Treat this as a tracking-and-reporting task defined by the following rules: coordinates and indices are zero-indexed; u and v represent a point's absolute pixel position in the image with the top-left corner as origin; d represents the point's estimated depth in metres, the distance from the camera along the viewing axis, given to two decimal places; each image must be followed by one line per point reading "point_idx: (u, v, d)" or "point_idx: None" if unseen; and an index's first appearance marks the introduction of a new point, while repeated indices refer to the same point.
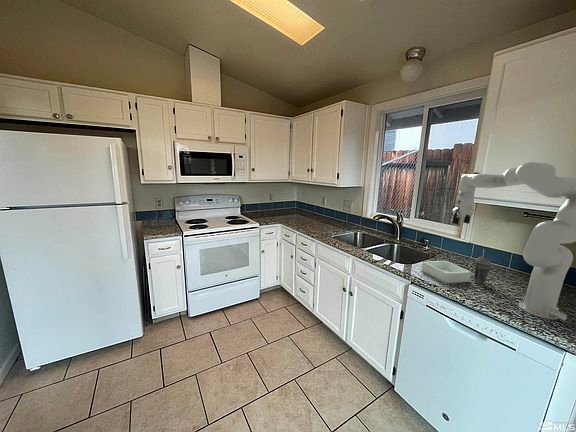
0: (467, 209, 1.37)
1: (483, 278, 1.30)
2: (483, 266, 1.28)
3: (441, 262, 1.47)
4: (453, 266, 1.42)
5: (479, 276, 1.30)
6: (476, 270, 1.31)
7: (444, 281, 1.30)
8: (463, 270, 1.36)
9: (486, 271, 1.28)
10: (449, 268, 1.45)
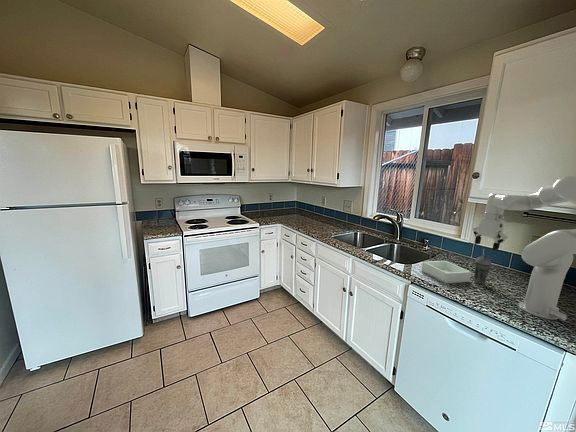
0: None
1: (483, 278, 1.30)
2: (483, 266, 1.28)
3: (441, 262, 1.47)
4: (453, 266, 1.42)
5: (479, 276, 1.30)
6: (476, 270, 1.31)
7: (444, 281, 1.30)
8: (463, 270, 1.36)
9: (486, 271, 1.28)
10: (449, 268, 1.45)
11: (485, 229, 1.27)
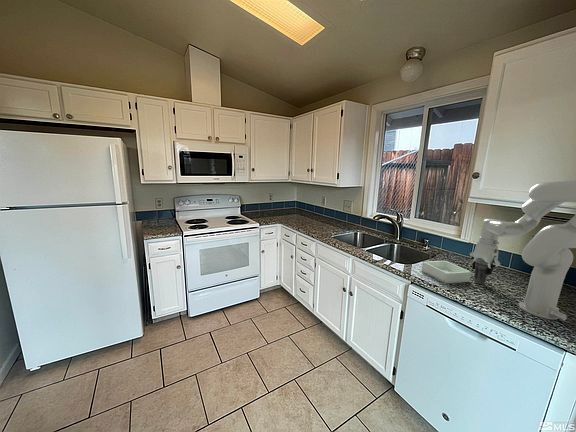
0: None
1: (483, 278, 1.30)
2: (483, 266, 1.28)
3: (441, 262, 1.47)
4: (453, 266, 1.42)
5: (479, 276, 1.30)
6: (476, 270, 1.31)
7: (444, 281, 1.30)
8: (463, 270, 1.36)
9: None
10: (449, 268, 1.45)
11: (481, 254, 1.30)
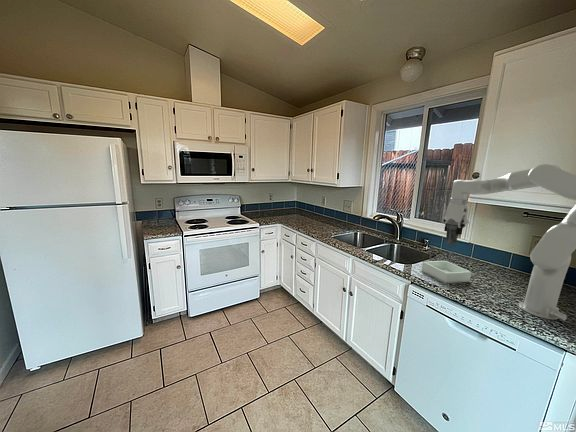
0: None
1: (454, 238, 1.32)
2: (453, 226, 1.31)
3: (441, 262, 1.47)
4: (453, 266, 1.42)
5: (450, 237, 1.33)
6: (447, 231, 1.34)
7: (444, 281, 1.30)
8: (463, 270, 1.36)
9: None
10: (449, 268, 1.45)
11: (451, 215, 1.32)
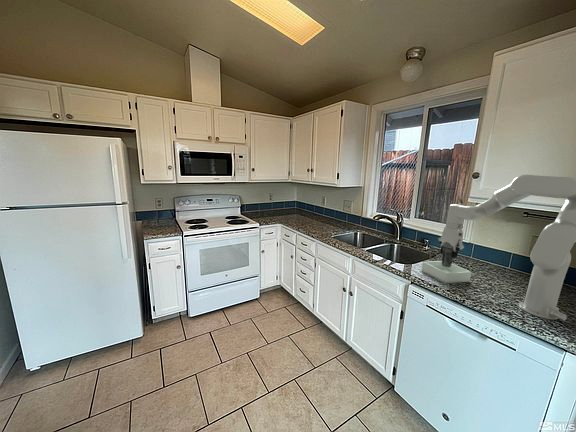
0: None
1: (449, 261, 1.35)
2: (449, 249, 1.33)
3: (441, 262, 1.47)
4: (453, 266, 1.42)
5: (446, 259, 1.36)
6: (443, 254, 1.37)
7: (444, 281, 1.30)
8: (463, 270, 1.36)
9: None
10: (449, 268, 1.45)
11: (447, 238, 1.35)
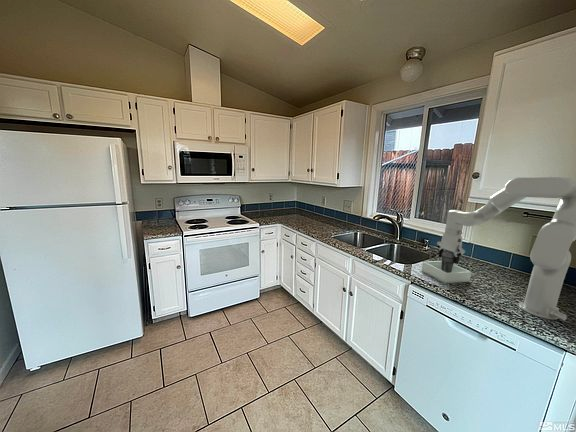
0: None
1: (449, 270, 1.36)
2: (448, 259, 1.34)
3: (441, 262, 1.47)
4: (453, 266, 1.42)
5: (445, 268, 1.37)
6: (442, 263, 1.38)
7: (444, 281, 1.30)
8: (463, 270, 1.36)
9: (451, 263, 1.35)
10: None
11: (446, 243, 1.35)
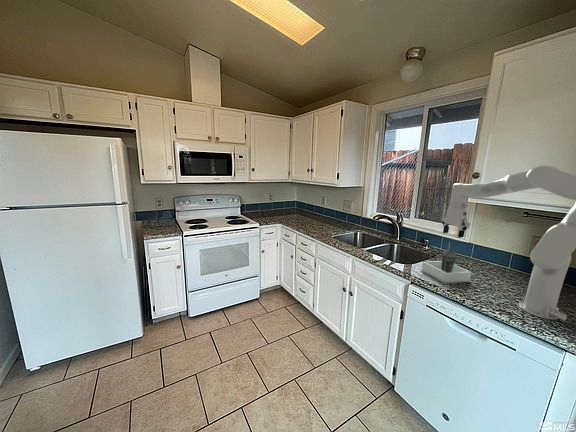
0: None
1: (449, 270, 1.36)
2: (448, 258, 1.34)
3: (441, 262, 1.47)
4: (453, 266, 1.42)
5: (445, 268, 1.37)
6: (442, 262, 1.38)
7: (444, 281, 1.30)
8: (463, 270, 1.36)
9: (451, 263, 1.35)
10: None
11: (451, 218, 1.33)
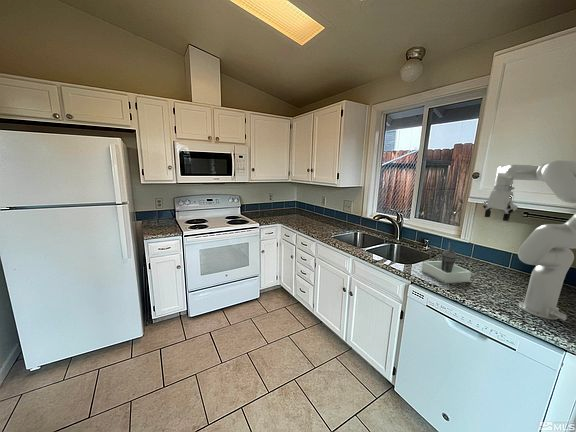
0: None
1: (449, 270, 1.36)
2: (448, 259, 1.34)
3: (441, 262, 1.47)
4: (453, 266, 1.42)
5: (445, 268, 1.37)
6: (442, 263, 1.38)
7: (444, 281, 1.30)
8: (463, 270, 1.36)
9: (451, 263, 1.35)
10: None
11: (495, 201, 1.30)
